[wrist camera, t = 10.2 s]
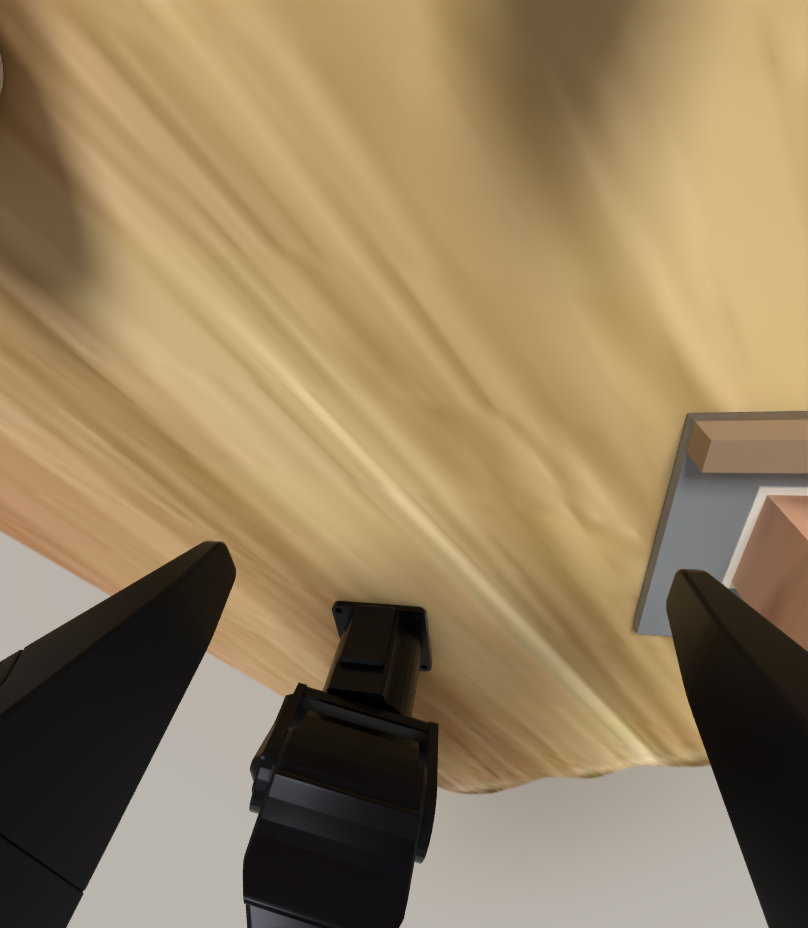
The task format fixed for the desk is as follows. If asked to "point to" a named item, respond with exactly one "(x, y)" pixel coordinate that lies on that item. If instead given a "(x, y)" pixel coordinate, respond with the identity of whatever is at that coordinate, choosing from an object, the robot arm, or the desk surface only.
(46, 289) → the desk surface
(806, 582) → the cube
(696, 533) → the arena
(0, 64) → the cup
